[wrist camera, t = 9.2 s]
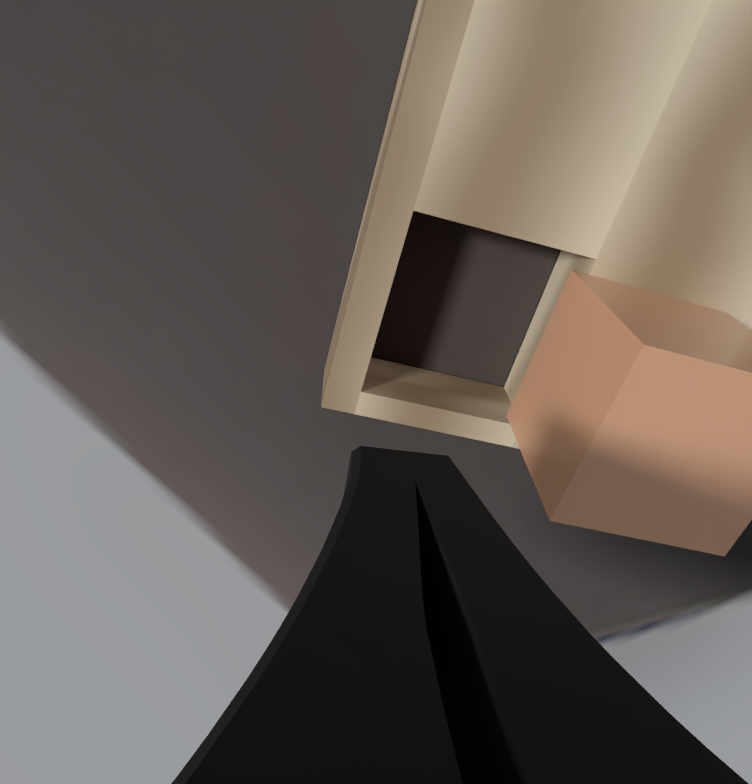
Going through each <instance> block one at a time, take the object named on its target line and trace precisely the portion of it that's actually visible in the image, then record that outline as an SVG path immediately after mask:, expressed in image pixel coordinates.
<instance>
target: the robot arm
mask: <svg viewBox="0 0 752 784" xmlns="http://www.w3.org/2000/svg"><path fill="white" fill-rule="evenodd" d="M172 784H748V783H747V782H746V781H744V780H743V779H742V778H741V777H740V776H739V775H737V773H735V772H734V771H733V770H732V769H731V768H729V767H728V766H727V765H726V764H725V763H724V762H723V761H721V760H720V759H719V758H718V757H717V756H716V755H715V754H713V753H712V752H711V751H710V750H709V749H707V747H705V746H704V745H703V744H702V743H701V742H700V741H699V740H698V739H697V738H696V737H695V736H693V735H692V734H691V733H690V732H689V731H688V730H687V729H686V728H685V727H684V726H683V725H681V724H680V723H679V722H678V721H677V720H676V719H675V718H674V717H673V716H672V715H671V714H670V713H668V712H667V711H666V710H665V709H664V708H663V707H662V706H661V705H660V704H659V703H658V702H657V701H656V700H655V699H654V698H653V697H652V696H651V695H650V694H649V693H648V692H647V691H646V690H645V689H644V688H643V687H642V686H641V685H640V684H639V683H638V682H637V681H636V680H635V679H634V678H633V677H632V676H631V675H630V674H629V673H628V672H627V671H626V670H625V669H624V668H622V666H621V665H620V664H619V663H618V662H617V661H616V660H614V658H613V657H612V656H611V655H610V654H609V653H608V652H607V651H606V650H605V649H604V648H603V647H602V646H601V645H600V644H599V643H598V642H597V641H596V640H595V639H594V637H593V636H592V635H591V634H590V633H589V632H588V631H587V630H586V629H585V628H584V626H583V625H582V624H581V623H580V622H579V621H578V620H577V619H576V617H575V616H574V615H573V614H572V613H571V612H570V611H569V610H568V609H567V607H566V606H565V605H564V604H563V603H562V602H561V601H560V600H559V598H558V597H557V596H556V595H555V594H554V593H553V592H552V590H551V589H550V588H549V587H548V586H547V585H546V583H545V582H544V581H543V580H542V579H541V577H540V576H539V575H538V574H537V573H536V571H535V570H534V569H533V568H532V567H531V565H530V564H529V563H528V562H527V560H526V559H525V558H524V557H523V555H522V554H521V553H520V551H519V550H518V549H517V548H516V546H515V545H514V544H513V543H512V541H511V540H510V539H509V538H508V536H507V535H506V534H505V532H504V531H503V530H502V528H501V527H500V526H499V524H498V523H497V522H496V520H495V519H494V518H493V516H492V515H491V514H490V512H489V511H488V510H487V508H486V507H485V506H484V504H483V503H482V502H481V500H480V499H479V497H478V496H477V495H476V493H475V492H474V491H473V489H472V488H471V486H470V485H469V484H468V482H467V481H466V480H465V478H464V477H463V475H462V474H461V473H460V471H459V470H458V469H457V467H456V466H455V465H454V463H453V462H452V461H451V459H450V458H449V457H448V456H444V455H435V454H427V453H418V452H409V451H400V450H391V449H383V448H374V447H365V446H360V447H359V448H357V449H355V450H354V451H352V452H351V457H350V462H349V468H348V474H347V480H346V486H345V492H344V497H343V500H342V503H341V506H340V509H339V511H338V513H337V516H336V518H335V520H334V523H333V525H332V528H331V530H330V532H329V535H328V537H327V539H326V542H325V544H324V546H323V548H322V551H321V553H320V555H319V557H318V559H317V561H316V562H315V564H314V566H313V568H312V570H311V572H310V574H309V576H308V578H307V580H306V581H305V583H304V585H303V587H302V589H301V591H300V593H299V595H298V597H297V599H296V601H295V602H294V604H293V606H292V608H291V609H290V611H289V613H288V614H287V616H286V618H285V620H284V621H283V623H282V625H281V627H280V628H279V630H278V631H277V633H276V635H275V636H274V638H273V640H272V641H271V643H270V644H269V646H268V647H267V649H266V651H265V652H264V654H263V655H262V657H261V658H260V660H259V661H258V663H257V665H256V666H255V668H254V669H253V671H252V672H251V674H250V675H249V677H248V678H247V680H246V681H245V683H244V684H243V686H242V687H241V689H240V690H239V691H238V693H237V694H236V696H235V697H234V699H233V700H232V701H231V703H230V704H229V706H228V707H227V709H226V710H225V711H224V713H223V714H222V716H221V717H220V719H219V720H218V721H217V723H216V724H215V726H214V727H213V729H212V730H211V731H210V733H209V734H208V736H207V737H206V738H205V740H204V741H203V742H202V744H201V745H200V747H199V748H198V749H197V751H196V752H195V753H194V755H193V756H192V757H191V759H190V760H189V761H188V763H187V764H186V765H185V767H184V768H183V769H182V771H181V772H180V773H179V775H178V776H177V777H176V779H175V780H174V781H173V782H172Z"/></svg>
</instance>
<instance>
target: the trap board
mask: <svg viewBox="0 0 752 784" xmlns="http://www.w3.org/2000/svg"><path fill="white" fill-rule="evenodd" d="M413 211H417V212H420V213H424V214H428V215H432V216H435V217H439V218H443V219H447V220H451V221H454V222H458V223H462V224H466V225H469V226H473V227H477V228H481V229H484V230H488V231H492V232H496V233H499V234H503V235H507V236H511V237H514V238H518V239H522V240H526V241H529V242H533V243H537V244H541V245H545V246H548V247H552V248H556V249H560V250H561V252H560V255H559V257H558V259H557V262H556V264H555V266H554V269H553V271H552V274H551V276H550V278H549V281H548V283H547V286H546V288H545V290H544V293H543V295H542V298H541V300H540V302H539V305H538V307H537V310H536V312H535V314H534V317H533V319H532V322H531V324H530V326H529V329H528V331H527V334H526V336H525V338H524V341H523V343H522V346H521V348H520V350H519V353H518V355H517V358H516V360H515V362H514V365H513V367H512V370H511V372H510V374H509V377H508V379H507V382H506V384H505V386H504V387H501V386H496V385H492V384H487V383H483V382H478V381H474V380H470V379H465V378H461V377H456V376H452V375H447V374H443V373H439V372H434V371H430V370H425V369H421V368H416V367H412V366H407V365H403V364H399V363H394V362H390V361H385V360H381V359H376V358H372V357H371V355H372V351H373V348H374V344H375V341H376V338H377V334H378V331H379V327H380V324H381V320H382V317H383V314H384V310H385V307H386V303H387V300H388V296H389V293H390V289H391V286H392V283H393V279H394V276H395V272H396V269H397V265H398V262H399V259H400V255H401V252H402V248H403V245H404V241H405V238H406V234H407V231H408V228H409V224H410V221H411V217H412V214H413ZM571 270H574V271H578V272H582V273H585V274H589V275H593V276H596V277H600V278H604V279H607V280H611V281H614V282H618V283H622V284H625V285H629V286H633V287H636V288H640V289H644V290H647V291H651V292H654V293H658V294H662V295H665V296H669V297H673V298H676V299H680V300H683V301H687V302H691V303H694V304H698V305H702V306H705V307H709V308H713V309H716V310H720V311H723V312H726V313H728V314H729V315H731V316H732V317H733V318H735V319H736V320H738V321H739V322H740V323H742V324H743V325H745V326H746V327H747V328H749V329H750V330H751V331H752V0H418V2H417V5H416V9H415V13H414V17H413V21H412V25H411V29H410V33H409V37H408V41H407V45H406V49H405V53H404V57H403V61H402V65H401V69H400V73H399V77H398V81H397V84H396V88H395V92H394V96H393V100H392V104H391V108H390V112H389V116H388V120H387V124H386V128H385V132H384V136H383V140H382V144H381V148H380V152H379V156H378V160H377V163H376V167H375V171H374V175H373V179H372V183H371V187H370V191H369V195H368V199H367V203H366V207H365V211H364V215H363V219H362V223H361V227H360V231H359V235H358V239H357V242H356V246H355V250H354V254H353V258H352V262H351V266H350V270H349V274H348V278H347V282H346V286H345V290H344V294H343V298H342V302H341V306H340V310H339V314H338V318H337V321H336V325H335V329H334V333H333V337H332V341H331V345H330V349H329V353H328V357H327V361H326V365H325V369H324V380H323V391H322V403H321V407H323V408H328V409H333V410H337V411H342V412H347V413H352V414H356V415H361V416H366V417H371V418H375V419H380V420H385V421H390V422H394V423H399V424H404V425H409V426H414V427H418V428H423V429H428V430H433V431H437V432H442V433H447V434H452V435H456V436H461V437H466V438H471V439H475V440H480V441H485V442H490V443H495V444H499V445H504V446H509V447H514V448H518V449H520V448H519V445H518V443H517V440H516V438H515V435H514V433H513V431H512V428H511V426H510V423H509V421H508V418H507V413H508V411H509V409H510V407H511V405H512V402H513V400H514V398H515V396H516V393H517V391H518V389H519V387H520V384H521V382H522V380H523V378H524V375H525V373H526V371H527V369H528V366H529V364H530V362H531V360H532V357H533V355H534V353H535V351H536V348H537V346H538V344H539V342H540V339H541V337H542V335H543V333H544V330H545V328H546V326H547V324H548V321H549V319H550V317H551V315H552V312H553V310H554V308H555V306H556V303H557V301H558V299H559V297H560V294H561V292H562V290H563V288H564V285H565V283H566V281H567V279H568V276H569V274H570V272H571Z"/></svg>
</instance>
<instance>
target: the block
mask: <svg viewBox="0 0 752 784" xmlns="http://www.w3.org/2000/svg"><path fill="white" fill-rule="evenodd" d="M507 418H508V421H509V423H510V426H511V428H512V431H513V433H514V435H515V438H516V440H517V443H518V445H519V448H520V450H521V452H522V455H523V457H524V460H525V462H526V465H527V467H528V469H529V472H530V474H531V477H532V479H533V482H534V484H535V486H536V489H537V491H538V494H539V496H540V499H541V501H542V503H543V506H544V508H545V511H546V513H547V516H548V518H549V520H550V521H553V522H557V523H562V524H567V525H572V526H577V527H582V528H587V529H592V530H597V531H602V532H607V533H612V534H617V535H621V536H626V537H631V538H636V539H641V540H646V541H651V542H656V543H661V544H666V545H671V546H676V547H681V548H686V549H690V550H695V551H700V552H705V553H710V554H715V555H720V556H725V555H726V554H727V553H728V551H729V550H730V549H731V547H732V546H733V544H734V543H735V542H736V540H737V539H738V538H739V536H740V535H741V534H742V532H743V531H744V530H745V528H746V527H747V526H748V524H749V523H750V521H751V520H752V331H751V330H750V329H749V328H747V327H746V326H745V325H743V324H742V323H740V322H739V321H738V320H736V319H735V318H733V317H732V316H731V315H729V314H728V313H726V312H723V311H720V310H716V309H713V308H709V307H705V306H702V305H698V304H694V303H691V302H687V301H683V300H680V299H676V298H673V297H669V296H665V295H662V294H658V293H654V292H651V291H647V290H644V289H640V288H636V287H633V286H629V285H625V284H622V283H618V282H614V281H611V280H607V279H604V278H600V277H596V276H593V275H589V274H585V273H582V272H578V271H574V270H571V272H570V274H569V276H568V279H567V281H566V283H565V285H564V288H563V290H562V292H561V294H560V297H559V299H558V301H557V303H556V306H555V308H554V310H553V312H552V315H551V317H550V319H549V321H548V324H547V326H546V328H545V330H544V333H543V335H542V337H541V339H540V342H539V344H538V346H537V348H536V351H535V353H534V355H533V357H532V360H531V362H530V364H529V366H528V369H527V371H526V373H525V375H524V378H523V380H522V382H521V384H520V387H519V389H518V391H517V393H516V396H515V398H514V400H513V402H512V405H511V407H510V409H509V411H508V413H507Z"/></svg>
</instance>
